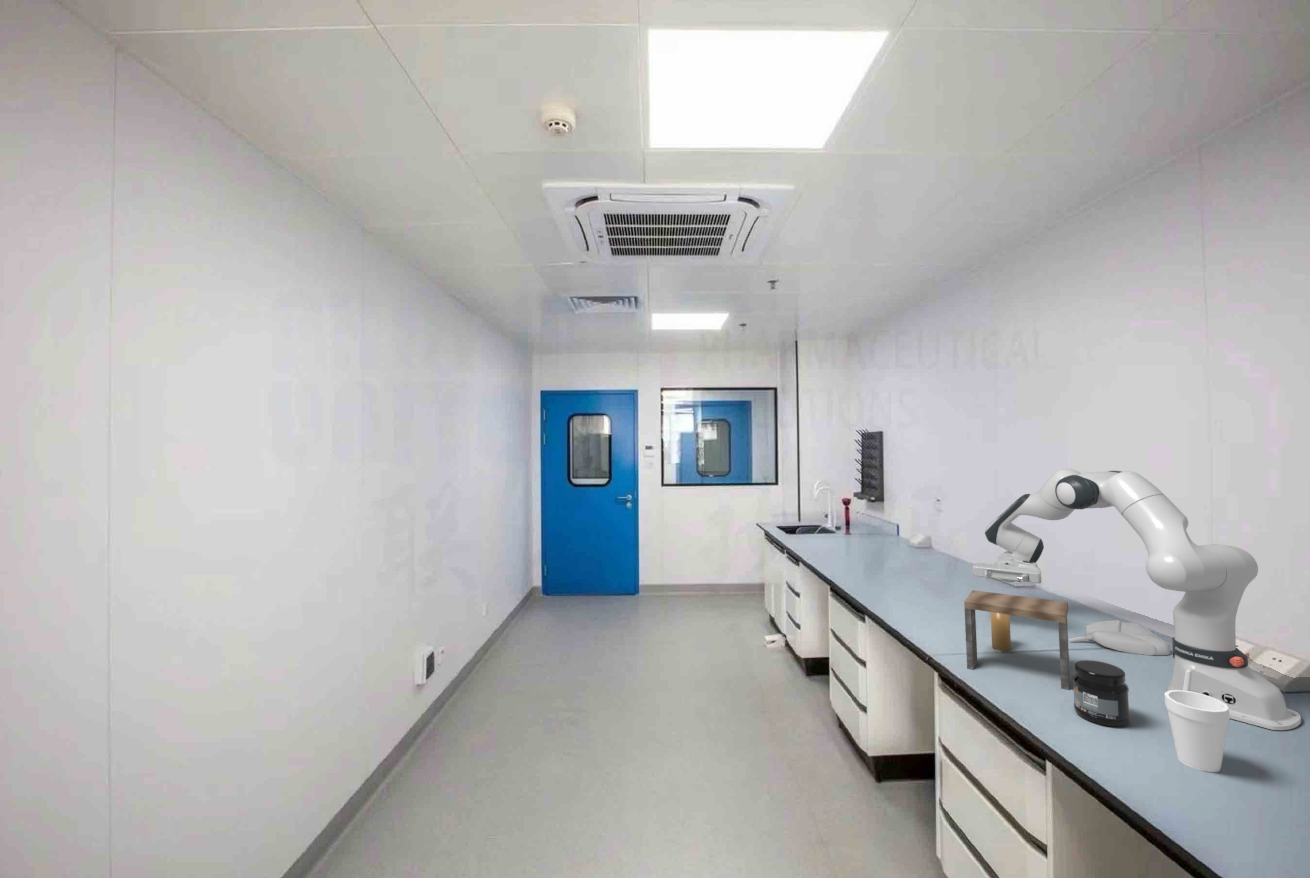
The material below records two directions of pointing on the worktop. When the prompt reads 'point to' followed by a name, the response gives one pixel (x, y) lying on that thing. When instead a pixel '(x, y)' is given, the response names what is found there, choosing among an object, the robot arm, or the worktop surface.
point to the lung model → (1124, 637)
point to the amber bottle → (1000, 631)
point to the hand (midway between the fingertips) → (1003, 577)
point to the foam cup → (1198, 728)
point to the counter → (1017, 608)
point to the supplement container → (1101, 693)
